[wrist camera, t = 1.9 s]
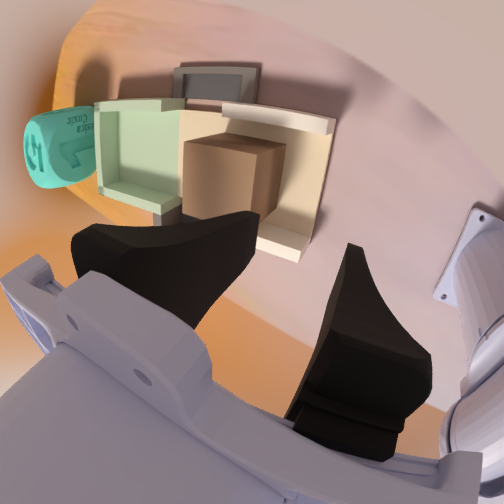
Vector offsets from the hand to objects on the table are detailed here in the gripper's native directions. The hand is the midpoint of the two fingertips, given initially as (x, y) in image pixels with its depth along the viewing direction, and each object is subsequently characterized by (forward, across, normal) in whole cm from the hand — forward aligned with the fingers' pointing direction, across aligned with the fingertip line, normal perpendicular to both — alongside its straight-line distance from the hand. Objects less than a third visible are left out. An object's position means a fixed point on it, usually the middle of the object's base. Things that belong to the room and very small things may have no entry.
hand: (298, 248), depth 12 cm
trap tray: (+9, +12, 0) cm, 15 cm away
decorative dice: (+10, +29, 0) cm, 31 cm away
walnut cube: (+9, +6, 0) cm, 11 cm away
